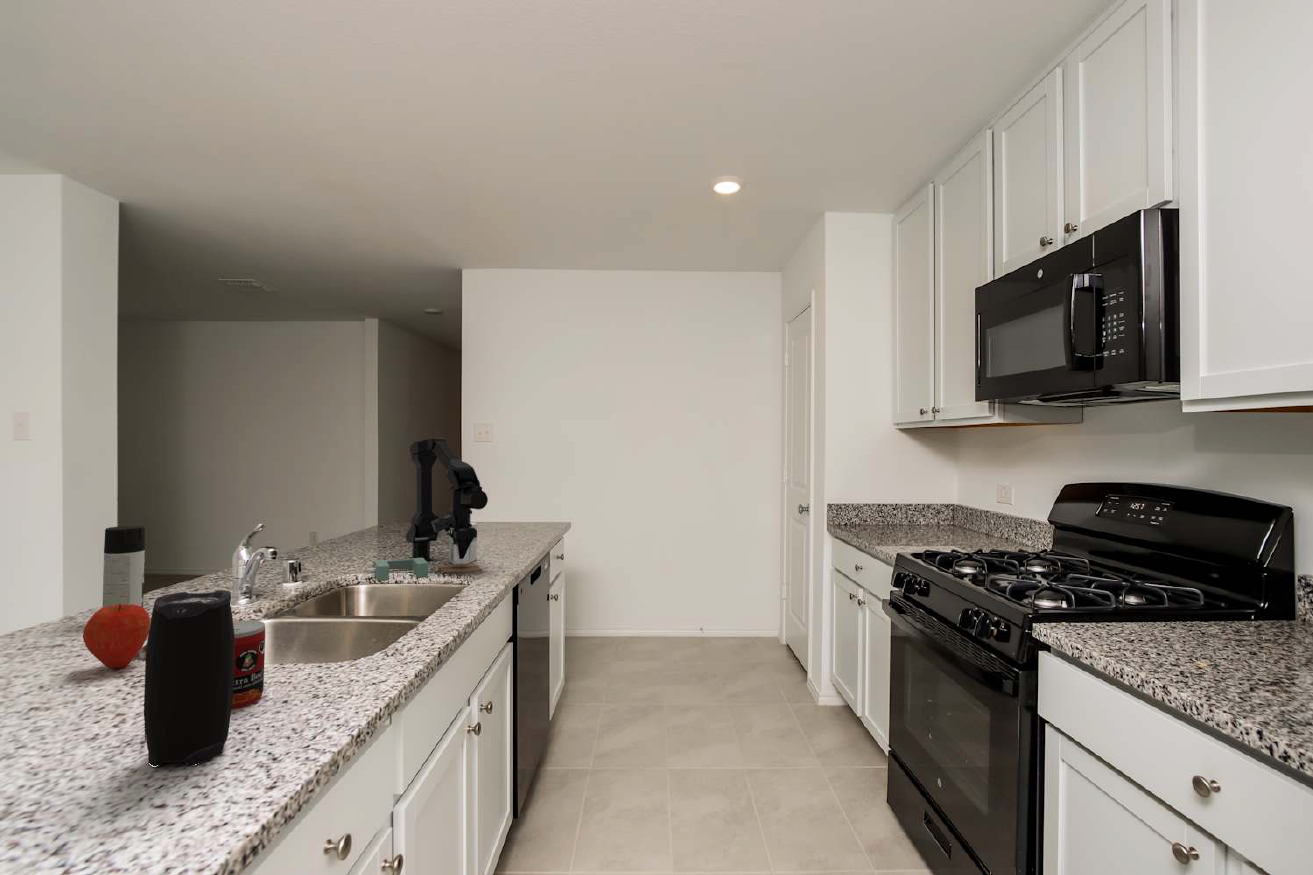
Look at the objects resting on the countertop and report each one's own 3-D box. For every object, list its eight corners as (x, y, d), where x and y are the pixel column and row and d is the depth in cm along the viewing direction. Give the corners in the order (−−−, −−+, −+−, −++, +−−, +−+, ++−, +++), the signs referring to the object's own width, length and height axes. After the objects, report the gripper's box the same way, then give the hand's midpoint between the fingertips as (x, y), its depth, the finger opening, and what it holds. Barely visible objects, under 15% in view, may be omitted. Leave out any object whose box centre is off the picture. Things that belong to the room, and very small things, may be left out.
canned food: (217, 716, 88) (219, 637, 89) (191, 703, 93) (193, 628, 93) (274, 698, 95) (276, 625, 95) (247, 686, 99) (249, 616, 99)
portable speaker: (240, 734, 83) (245, 586, 84) (214, 768, 74) (220, 603, 75) (163, 741, 81) (168, 589, 81) (127, 778, 72) (133, 607, 72)
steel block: (450, 561, 194) (451, 542, 194) (465, 560, 196) (466, 541, 196) (453, 564, 190) (454, 544, 190) (468, 563, 192) (469, 543, 192)
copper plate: (437, 568, 195) (438, 565, 195) (473, 566, 201) (473, 562, 201) (444, 575, 186) (444, 571, 186) (481, 572, 191) (481, 569, 191)
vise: (363, 571, 189) (364, 558, 189) (420, 567, 196) (420, 554, 196) (367, 581, 175) (367, 567, 175) (427, 576, 183) (428, 563, 183)
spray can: (149, 620, 134) (152, 526, 135) (111, 628, 128) (114, 530, 129) (132, 615, 137) (135, 524, 138) (94, 623, 131) (97, 527, 131)
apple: (70, 678, 101) (72, 611, 101) (101, 661, 109) (103, 598, 109) (133, 674, 103) (135, 608, 103) (159, 657, 111) (161, 596, 112)
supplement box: (470, 563, 205) (471, 525, 205) (447, 563, 205) (448, 524, 205) (477, 559, 212) (478, 522, 212) (455, 559, 212) (456, 521, 212)
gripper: (428, 504, 198) (427, 554, 198) (439, 510, 181) (437, 564, 181) (464, 503, 203) (463, 552, 203) (478, 509, 187) (476, 562, 187)
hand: (459, 557), depth 193 cm, fingers closed on steel block, 4 cm apart
